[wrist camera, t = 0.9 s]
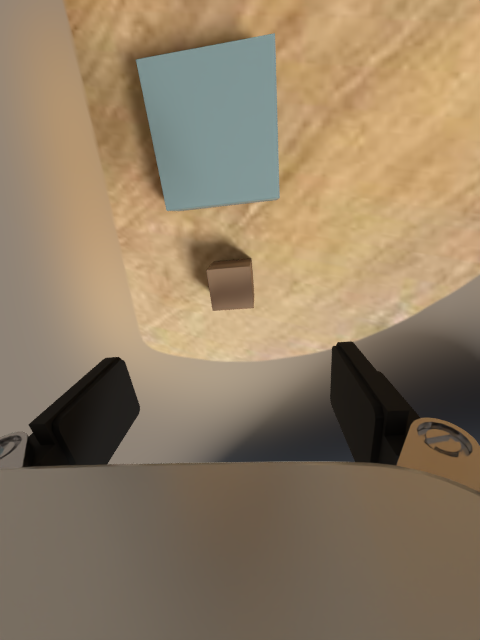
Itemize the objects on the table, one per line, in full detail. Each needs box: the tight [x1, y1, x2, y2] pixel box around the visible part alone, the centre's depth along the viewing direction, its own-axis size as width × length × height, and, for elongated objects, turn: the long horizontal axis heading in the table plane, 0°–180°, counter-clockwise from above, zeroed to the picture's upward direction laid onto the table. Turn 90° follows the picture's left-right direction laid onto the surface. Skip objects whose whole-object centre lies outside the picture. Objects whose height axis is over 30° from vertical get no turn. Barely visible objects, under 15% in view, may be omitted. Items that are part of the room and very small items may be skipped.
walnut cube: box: [206, 259, 254, 311], centre depth 30 cm, size 5×5×5 cm
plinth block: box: [136, 33, 279, 211], centre depth 24 cm, size 12×12×4 cm
